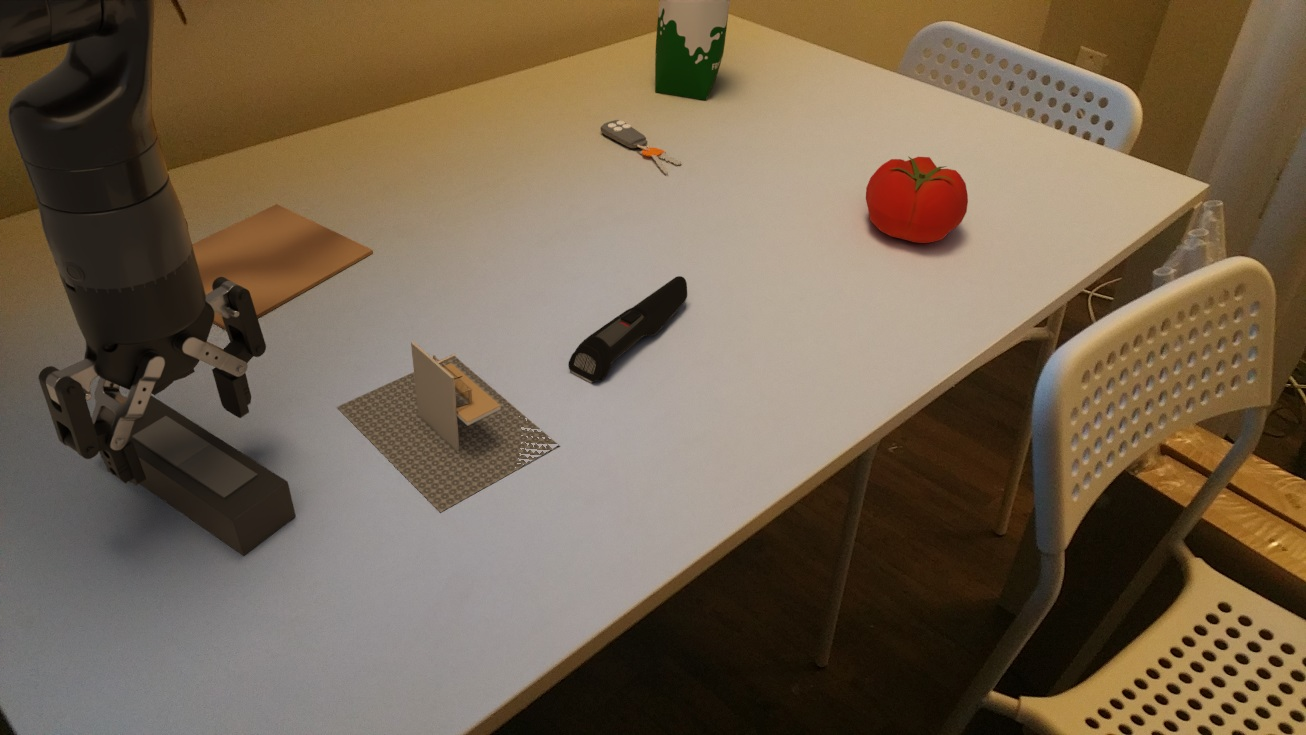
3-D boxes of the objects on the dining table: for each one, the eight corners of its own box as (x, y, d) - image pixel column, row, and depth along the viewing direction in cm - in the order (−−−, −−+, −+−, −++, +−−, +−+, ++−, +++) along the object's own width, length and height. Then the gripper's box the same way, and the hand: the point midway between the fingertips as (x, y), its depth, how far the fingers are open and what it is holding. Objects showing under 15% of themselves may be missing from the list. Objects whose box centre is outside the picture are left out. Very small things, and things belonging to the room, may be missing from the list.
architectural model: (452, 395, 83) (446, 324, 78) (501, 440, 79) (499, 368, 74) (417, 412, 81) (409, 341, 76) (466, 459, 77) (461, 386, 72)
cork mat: (131, 277, 92) (130, 273, 92) (277, 207, 104) (276, 203, 104) (231, 333, 87) (230, 329, 87) (373, 253, 98) (372, 249, 98)
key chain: (596, 134, 123) (597, 123, 122) (619, 127, 125) (620, 116, 124) (665, 176, 115) (666, 164, 114) (688, 168, 117) (690, 156, 116)
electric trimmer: (696, 309, 95) (699, 282, 93) (598, 387, 85) (600, 358, 83) (664, 295, 97) (667, 267, 95) (564, 369, 86) (565, 340, 84)
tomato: (972, 229, 111) (991, 169, 106) (927, 266, 104) (946, 204, 99) (888, 194, 116) (903, 136, 111) (840, 228, 109) (854, 167, 104)
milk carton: (661, 69, 140) (673, -80, 127) (723, 80, 139) (742, -70, 126) (646, 93, 133) (658, -62, 120) (712, 104, 132) (730, -51, 119)
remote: (101, 457, 74) (86, 419, 72) (155, 424, 77) (142, 387, 75) (243, 556, 68) (232, 517, 66) (296, 516, 71) (287, 478, 69)
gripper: (185, 186, 66) (234, 373, 76) (-29, 279, 57) (59, 478, 67) (261, 223, 63) (301, 412, 73) (49, 327, 54) (129, 528, 64)
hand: (186, 443), depth 70 cm, fingers open, 8 cm apart
